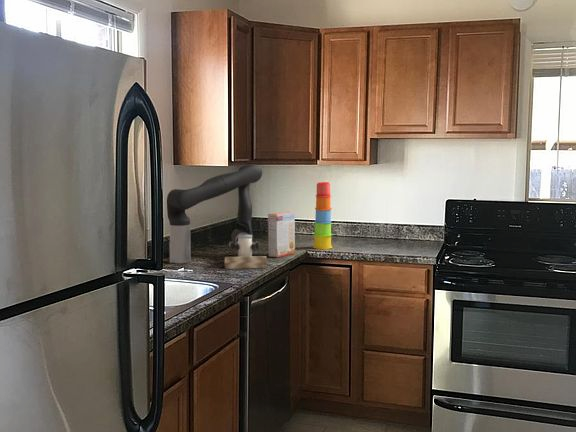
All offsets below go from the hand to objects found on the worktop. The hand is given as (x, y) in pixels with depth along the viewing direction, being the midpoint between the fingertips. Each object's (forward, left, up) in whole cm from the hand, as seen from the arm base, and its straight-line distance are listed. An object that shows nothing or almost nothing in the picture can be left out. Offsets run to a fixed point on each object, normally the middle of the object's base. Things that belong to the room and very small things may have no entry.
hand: (245, 247), depth 270 cm
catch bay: (0, +2, -9) cm, 9 cm away
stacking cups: (+43, +52, -9) cm, 68 cm away
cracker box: (+19, +30, -9) cm, 37 cm away
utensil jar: (0, +2, -7) cm, 7 cm away
